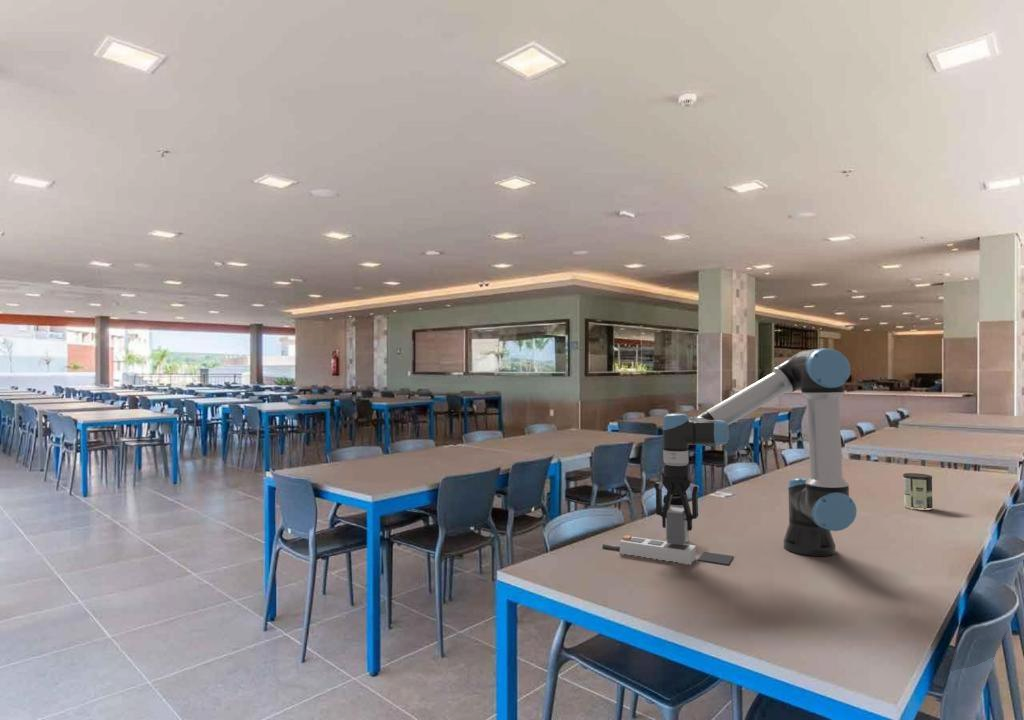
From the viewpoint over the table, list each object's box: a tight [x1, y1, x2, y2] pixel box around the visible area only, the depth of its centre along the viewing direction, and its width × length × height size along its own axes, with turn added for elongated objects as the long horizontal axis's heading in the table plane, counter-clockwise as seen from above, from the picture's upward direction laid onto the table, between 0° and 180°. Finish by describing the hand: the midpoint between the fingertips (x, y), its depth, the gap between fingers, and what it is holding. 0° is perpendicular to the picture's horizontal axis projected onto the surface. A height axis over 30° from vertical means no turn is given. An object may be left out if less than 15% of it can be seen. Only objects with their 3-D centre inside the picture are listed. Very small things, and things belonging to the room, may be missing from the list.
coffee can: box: [902, 472, 933, 509], centre depth 251 cm, size 10×10×14 cm
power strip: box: [602, 534, 697, 566], centre depth 186 cm, size 29×7×5 cm, turn 60°
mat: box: [697, 551, 735, 566], centre depth 182 cm, size 9×9×1 cm
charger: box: [666, 507, 687, 545], centre depth 182 cm, size 5×5×10 cm
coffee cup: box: [662, 494, 689, 509], centre depth 205 cm, size 8×8×15 cm
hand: (677, 539), depth 182 cm, fingers closed on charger, 5 cm apart
